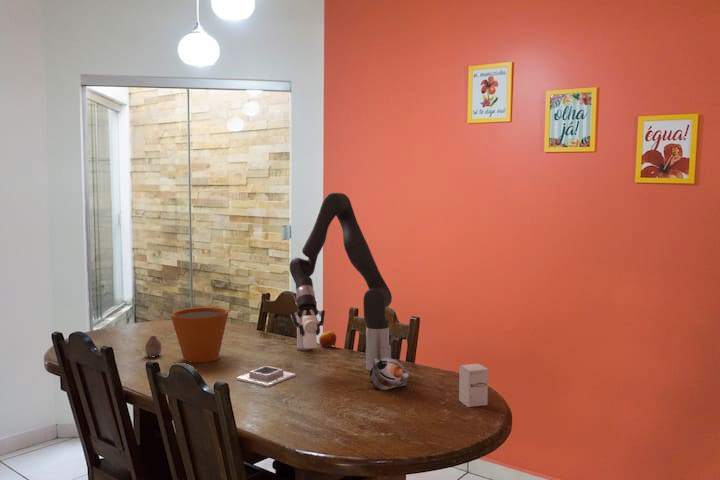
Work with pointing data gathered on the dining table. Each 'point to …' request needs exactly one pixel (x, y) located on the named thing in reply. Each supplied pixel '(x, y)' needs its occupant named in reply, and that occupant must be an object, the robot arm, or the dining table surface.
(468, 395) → the supplement box
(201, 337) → the flower pot
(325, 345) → the fruit
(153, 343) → the reddish brown teardrop
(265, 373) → the plate
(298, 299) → the robot arm
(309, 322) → the elbow
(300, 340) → the travel mug
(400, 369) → the lucky cat figurine
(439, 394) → the dining table surface
